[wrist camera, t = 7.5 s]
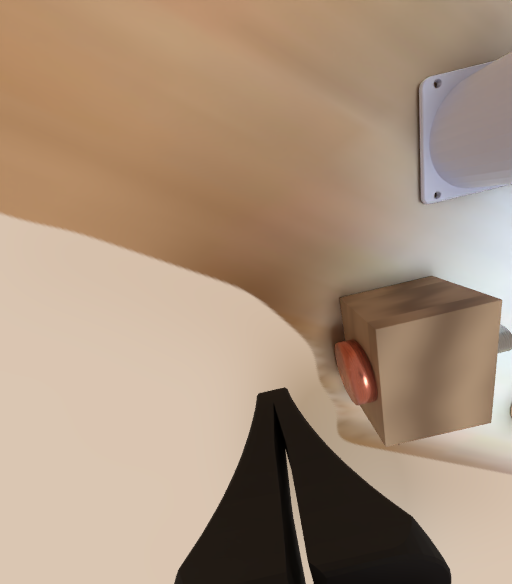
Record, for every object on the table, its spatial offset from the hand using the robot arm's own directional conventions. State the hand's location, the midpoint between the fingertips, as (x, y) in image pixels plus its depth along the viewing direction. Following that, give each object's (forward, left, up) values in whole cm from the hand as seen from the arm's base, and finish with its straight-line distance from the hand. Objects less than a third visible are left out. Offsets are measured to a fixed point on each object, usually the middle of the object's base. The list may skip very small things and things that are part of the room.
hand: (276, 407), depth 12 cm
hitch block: (-11, +5, -10) cm, 16 cm away
